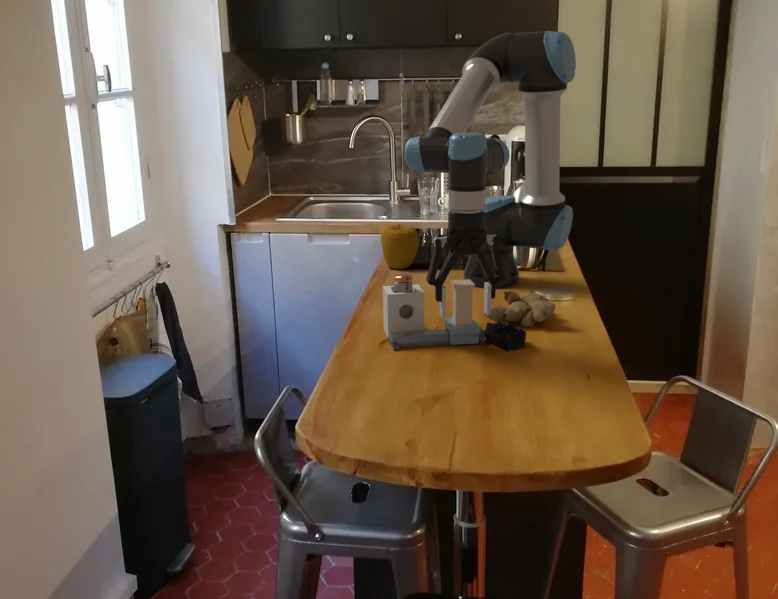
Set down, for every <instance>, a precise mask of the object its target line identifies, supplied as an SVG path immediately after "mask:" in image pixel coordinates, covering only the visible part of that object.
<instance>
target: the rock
mask: <svg viewBox="0 0 778 599" xmlns="http://www.w3.org/2000/svg"><path fill="white" fill-rule="evenodd" d="M484 331H485V340H486V341H490V343H492V344H495V345H496V346H497V347H500V348H502V350H503V351H504V352H508V353H509V352H511V351H513V350H514V351H515V350H518V349H519V348H522V347H524V346H525V343H526V340H527V339H526V337H527V331H526V330H523V329H522V328H521V327H518V326H517V325H516V324H514V323H509V322H494V323H493V322H486V327H485V328H484Z"/></svg>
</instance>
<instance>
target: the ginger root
mask: <svg viewBox="0 0 778 599" xmlns="http://www.w3.org/2000/svg"><path fill="white" fill-rule="evenodd" d="M503 295H504V296H503V298H504V301H505V302H507V304H508V305H507V306H500V305H499V306H498V305H491V315H487V314H486V313H485V312H484V314H483V315H484V316H485V317H486V318H487V319H488V320H490V321H492V322H494V323H497V322H505V323H509V322H512V323H516V324H518V323H519V324H520V325H522V326H523V327H524V328H529V327H533V326H534V325H535V324H536V322H537V323H540V322H543V321H544V320H547V319H549V318H550V317H551V316H552V315H553V314H554V313H555V311H556V303H554V302H553V301H552V302H551V301H550V299H549V298H547V297H546V296H544V295H541V294H539V293H532V292H531V293H530V292H527V293H525V294H523V295H522V296H520V295H519V294H518V293H517V292H516V291H512V290H511V289H505V290H504V291H503Z"/></svg>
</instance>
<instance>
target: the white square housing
mask: <svg viewBox="0 0 778 599" xmlns="http://www.w3.org/2000/svg"><path fill="white" fill-rule="evenodd" d="M382 301H383V302H382V310H383V311H382V314H383V316H382V317H383V318H382V319H383V331H384V333H385V334H386V337H387V339H389V337H390V332H402V331H418V330H425V292H424V290H423V289H422V288H421V286H420V285H419V284H412V292H404V293H394V285H383V286H382Z"/></svg>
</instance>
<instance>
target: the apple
mask: <svg viewBox="0 0 778 599" xmlns="http://www.w3.org/2000/svg"><path fill="white" fill-rule="evenodd" d="M380 241H381V242H380V243H381V248H382V254H383V258H384V260H385V263H386V265H387V266H388V267H389V268H391V269H397V270H403V269H407V268H408V267H410V266H411V265H412V263H413V261H414V259H415V257H416V255H417V253H418V249H419V245H420V244H419V241H420V240H419V234H418V231H417V230H416V228H415V227H413V226H410V225H403V224H402V225H401V224H400V223H398V224H391V225H387V226H385V228H383V229H382V231H381V233H380Z"/></svg>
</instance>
